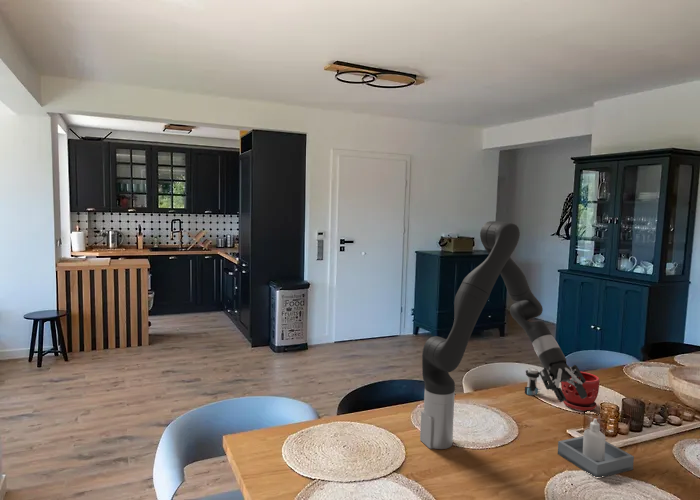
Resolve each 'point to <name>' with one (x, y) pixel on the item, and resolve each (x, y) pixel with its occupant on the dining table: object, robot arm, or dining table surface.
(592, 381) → the plant pot
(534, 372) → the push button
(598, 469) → the tray
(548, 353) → the robot arm
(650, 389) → the dining table surface
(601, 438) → the eye dropper bottle
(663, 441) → the dining table surface
